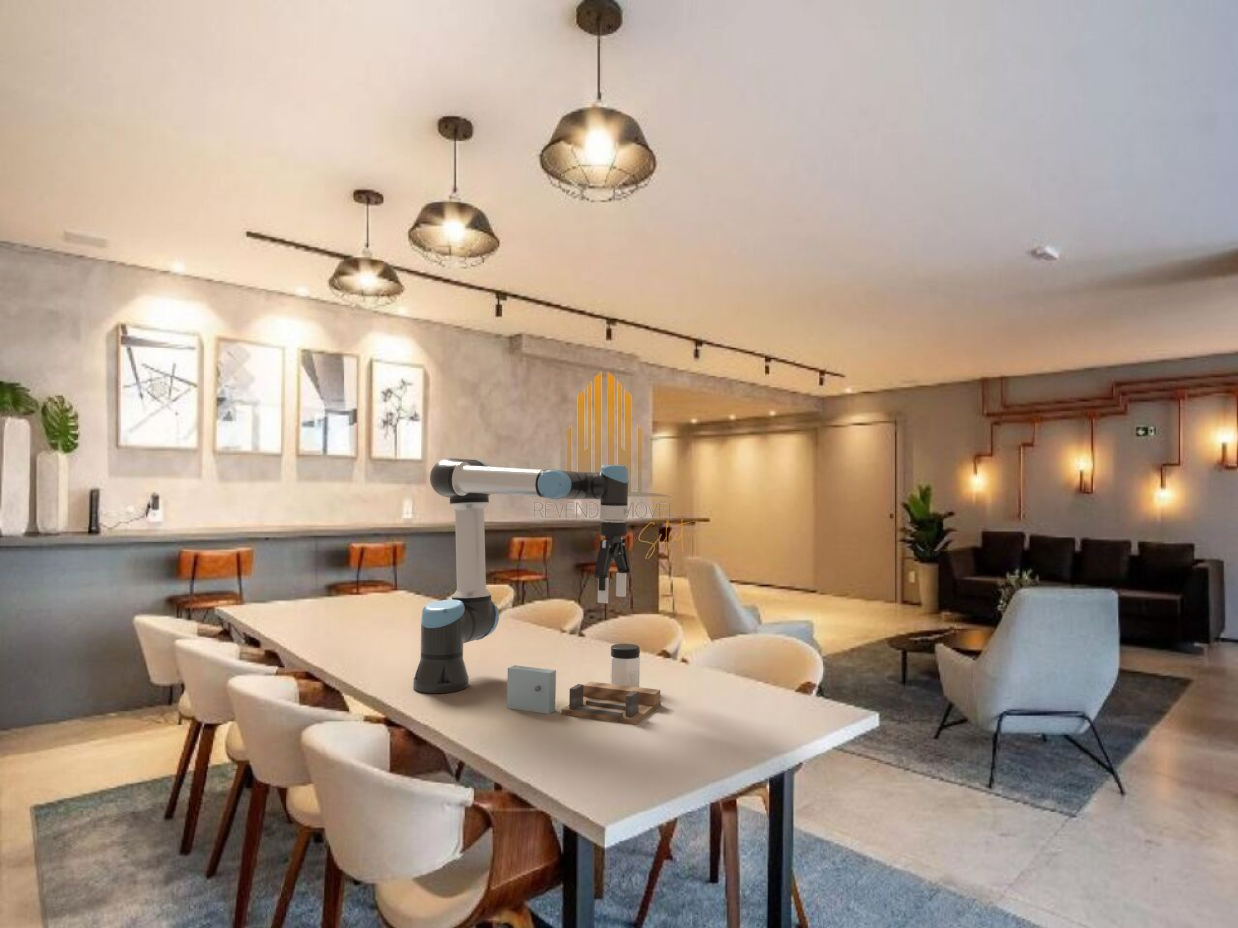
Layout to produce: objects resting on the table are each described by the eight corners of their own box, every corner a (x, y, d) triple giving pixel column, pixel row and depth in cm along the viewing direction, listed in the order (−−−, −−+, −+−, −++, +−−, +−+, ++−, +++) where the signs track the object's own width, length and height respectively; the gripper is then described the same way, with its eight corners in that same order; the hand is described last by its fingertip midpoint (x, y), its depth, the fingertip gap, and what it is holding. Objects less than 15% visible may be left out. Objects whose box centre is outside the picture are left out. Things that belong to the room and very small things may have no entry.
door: (504, 708, 182) (505, 668, 183) (513, 704, 186) (514, 665, 187) (546, 714, 178) (547, 673, 178) (555, 709, 182) (555, 669, 182)
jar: (619, 695, 196) (620, 650, 197) (603, 688, 203) (604, 645, 204) (646, 690, 201) (646, 647, 202) (629, 684, 208) (630, 642, 208)
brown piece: (561, 714, 178) (561, 688, 179) (590, 695, 195) (591, 672, 195) (636, 724, 171) (637, 698, 171) (660, 704, 188) (661, 680, 188)
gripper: (609, 523, 184) (608, 606, 183) (641, 520, 207) (640, 594, 206) (582, 522, 187) (581, 604, 186) (617, 519, 210) (615, 593, 209)
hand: (612, 599), depth 196 cm, fingers open, 13 cm apart
